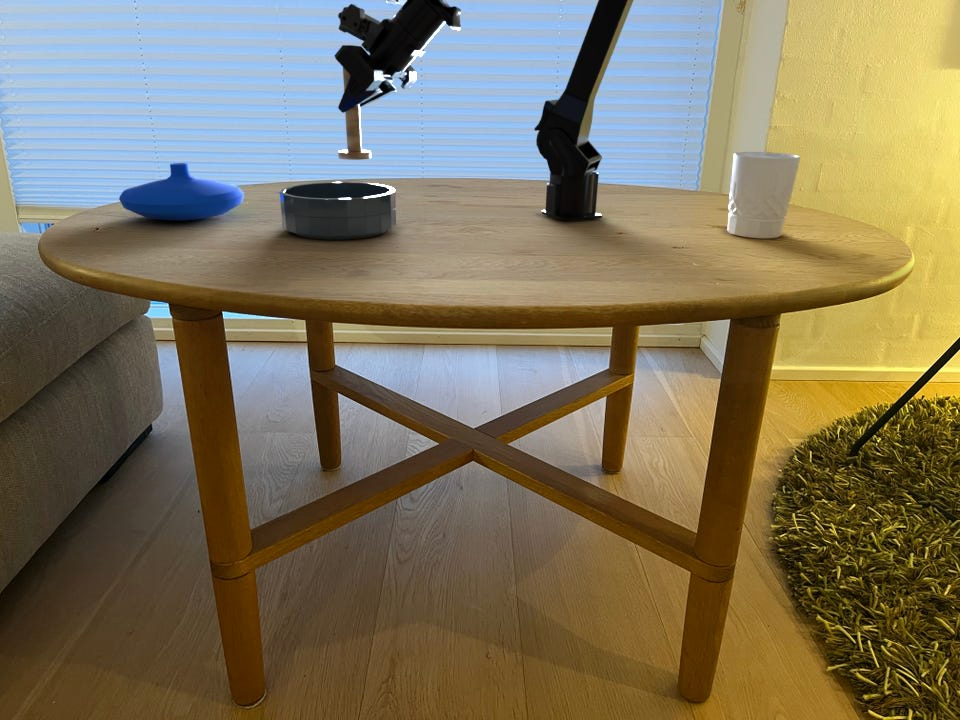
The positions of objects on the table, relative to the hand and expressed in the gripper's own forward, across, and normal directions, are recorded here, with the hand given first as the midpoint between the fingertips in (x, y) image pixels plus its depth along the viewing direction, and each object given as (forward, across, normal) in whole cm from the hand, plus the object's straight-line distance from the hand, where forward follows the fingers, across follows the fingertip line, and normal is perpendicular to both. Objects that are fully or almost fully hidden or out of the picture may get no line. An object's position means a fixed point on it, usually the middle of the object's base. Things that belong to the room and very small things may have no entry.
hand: (344, 110), depth 106 cm
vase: (+20, +21, -1) cm, 29 cm away
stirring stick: (+4, 0, +6) cm, 7 cm away
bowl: (+4, +22, +16) cm, 27 cm away
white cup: (-33, +7, +52) cm, 62 cm away
